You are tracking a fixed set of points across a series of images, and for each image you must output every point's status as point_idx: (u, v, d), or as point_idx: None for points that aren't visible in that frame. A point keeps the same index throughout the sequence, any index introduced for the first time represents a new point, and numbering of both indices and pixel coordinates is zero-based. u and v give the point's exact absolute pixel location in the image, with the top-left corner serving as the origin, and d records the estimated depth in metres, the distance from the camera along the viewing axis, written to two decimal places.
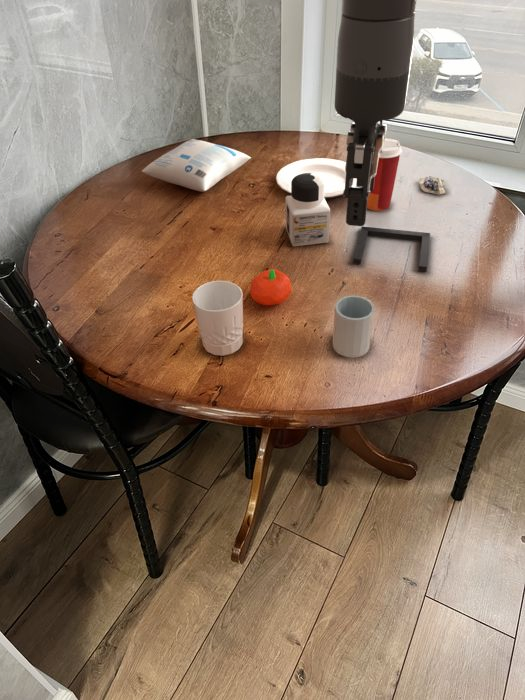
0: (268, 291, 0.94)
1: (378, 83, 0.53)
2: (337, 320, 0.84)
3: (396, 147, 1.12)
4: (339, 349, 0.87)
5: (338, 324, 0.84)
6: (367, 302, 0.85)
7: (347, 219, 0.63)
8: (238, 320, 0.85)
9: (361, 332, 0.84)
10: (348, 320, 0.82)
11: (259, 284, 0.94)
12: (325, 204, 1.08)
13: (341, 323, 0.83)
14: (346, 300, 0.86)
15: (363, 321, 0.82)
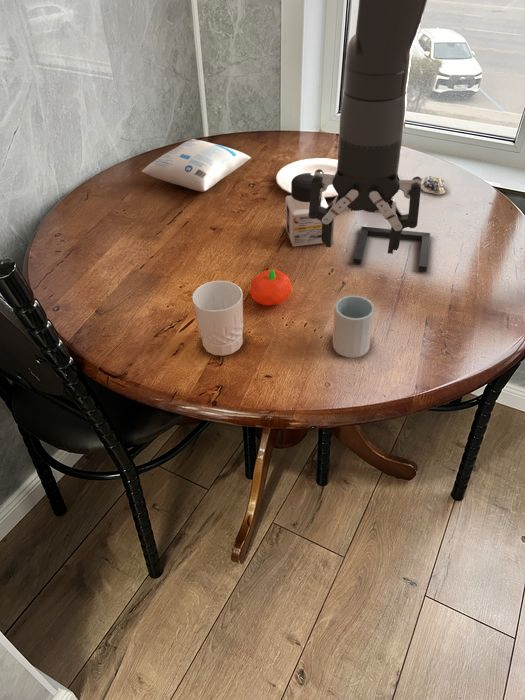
0: (268, 291, 0.94)
1: (339, 139, 0.65)
2: (337, 320, 0.84)
3: None
4: (339, 349, 0.87)
5: (338, 324, 0.84)
6: (367, 302, 0.85)
7: None
8: (238, 320, 0.85)
9: (361, 332, 0.84)
10: (348, 320, 0.82)
11: (259, 284, 0.94)
12: (325, 204, 1.08)
13: (341, 323, 0.83)
14: (346, 300, 0.86)
15: (363, 321, 0.82)
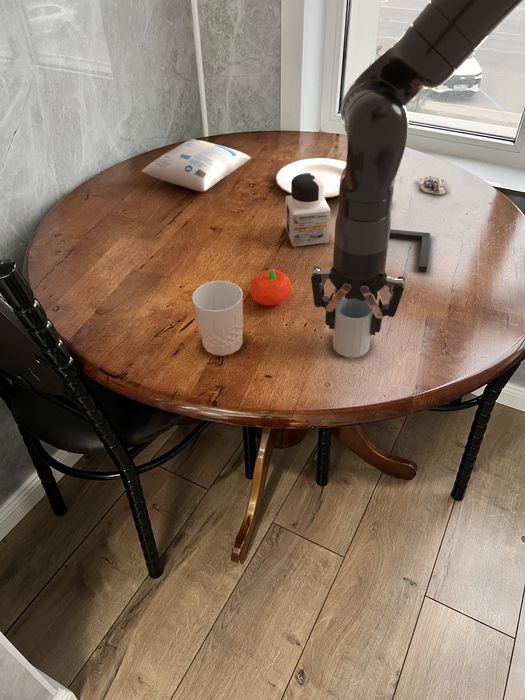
0: (268, 291, 0.94)
1: (334, 244, 0.76)
2: (337, 320, 0.84)
3: None
4: (339, 349, 0.87)
5: (338, 324, 0.84)
6: None
7: None
8: (238, 320, 0.85)
9: (361, 332, 0.84)
10: (348, 320, 0.82)
11: (259, 284, 0.94)
12: (325, 204, 1.08)
13: (341, 323, 0.83)
14: (346, 300, 0.86)
15: (362, 321, 0.82)
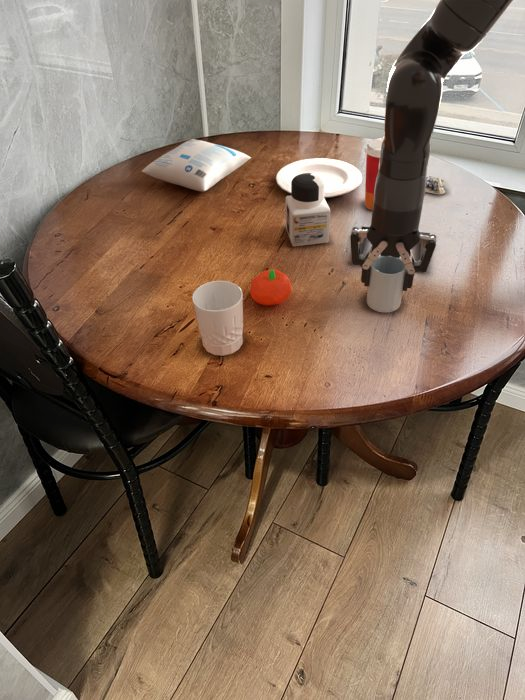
0: (268, 291, 0.94)
1: (373, 203, 0.84)
2: (373, 277, 0.92)
3: None
4: (373, 305, 0.95)
5: (373, 280, 0.92)
6: (400, 260, 0.93)
7: None
8: (238, 320, 0.85)
9: (395, 287, 0.91)
10: (383, 276, 0.90)
11: (259, 284, 0.94)
12: (325, 204, 1.08)
13: (377, 279, 0.91)
14: (380, 259, 0.94)
15: (397, 276, 0.90)
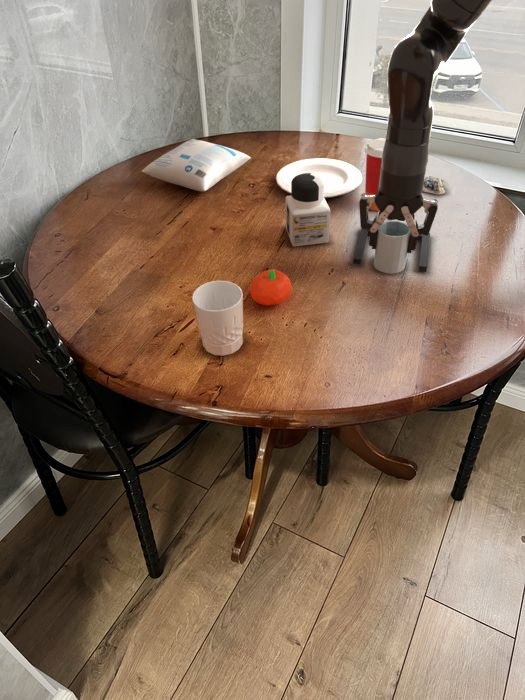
0: (268, 291, 0.94)
1: (381, 169, 0.92)
2: (380, 239, 1.00)
3: None
4: (380, 266, 1.03)
5: (380, 243, 1.00)
6: (404, 225, 1.01)
7: None
8: (238, 320, 0.85)
9: (400, 249, 1.00)
10: (390, 238, 0.98)
11: (259, 284, 0.94)
12: (325, 204, 1.08)
13: (383, 241, 1.00)
14: (386, 224, 1.02)
15: (402, 239, 0.98)
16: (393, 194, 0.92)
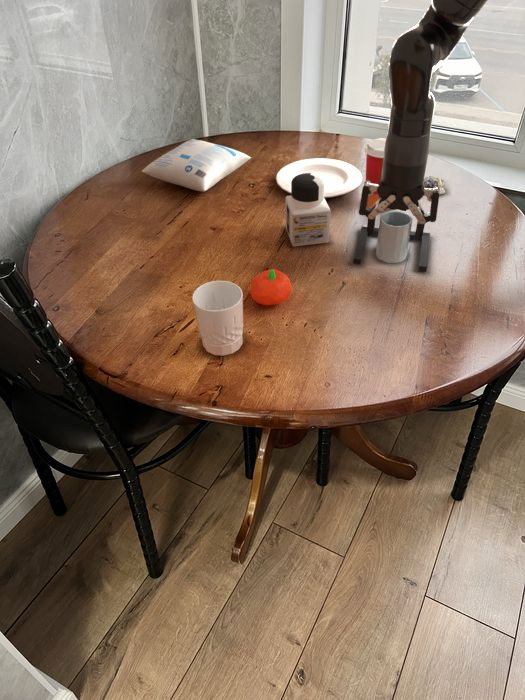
0: (268, 291, 0.94)
1: (383, 160, 0.95)
2: (382, 229, 1.03)
3: None
4: (382, 256, 1.06)
5: (382, 233, 1.03)
6: (406, 215, 1.04)
7: None
8: (238, 320, 0.85)
9: (401, 239, 1.02)
10: (391, 228, 1.01)
11: (259, 284, 0.94)
12: (325, 204, 1.08)
13: (385, 231, 1.02)
14: (388, 215, 1.05)
15: (403, 228, 1.01)
16: (395, 184, 0.95)
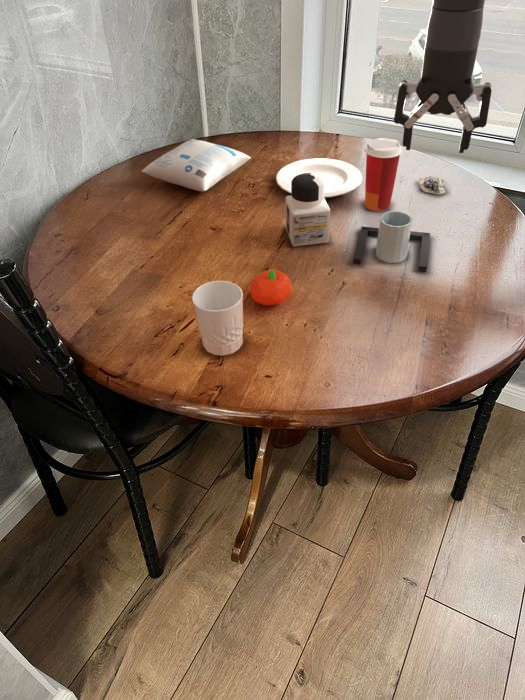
0: (268, 291, 0.94)
1: (425, 49, 0.80)
2: (382, 229, 1.03)
3: (396, 147, 1.12)
4: (382, 256, 1.06)
5: (382, 233, 1.03)
6: (406, 215, 1.04)
7: None
8: (238, 320, 0.85)
9: (401, 239, 1.02)
10: (391, 228, 1.01)
11: (259, 284, 0.94)
12: (325, 204, 1.08)
13: (385, 231, 1.02)
14: (388, 215, 1.05)
15: (403, 228, 1.01)
16: (440, 76, 0.80)
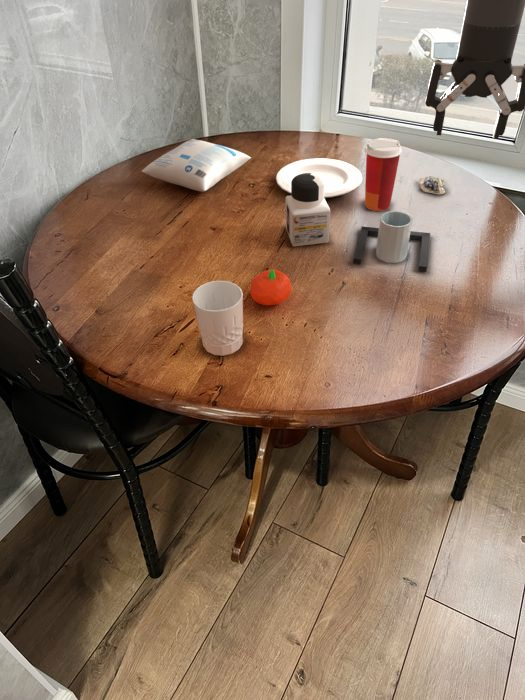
0: (268, 291, 0.94)
1: (464, 25, 0.75)
2: (382, 229, 1.03)
3: (396, 147, 1.12)
4: (382, 256, 1.06)
5: (382, 233, 1.03)
6: (406, 215, 1.04)
7: None
8: (238, 320, 0.85)
9: (401, 239, 1.02)
10: (391, 228, 1.01)
11: (259, 284, 0.94)
12: (325, 204, 1.08)
13: (385, 231, 1.02)
14: (388, 215, 1.05)
15: (403, 228, 1.01)
16: (479, 55, 0.75)
